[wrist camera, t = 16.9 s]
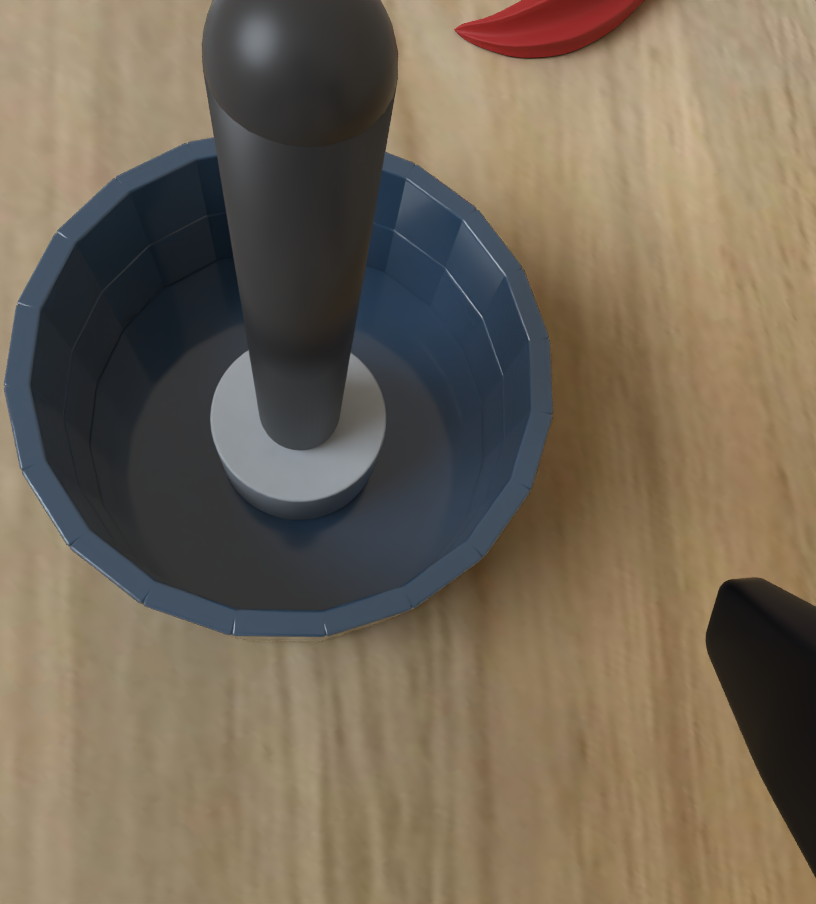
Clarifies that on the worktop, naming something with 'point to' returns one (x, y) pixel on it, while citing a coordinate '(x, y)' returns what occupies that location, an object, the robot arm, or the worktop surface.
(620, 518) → the worktop surface
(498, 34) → the cayenne pepper
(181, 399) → the bowl
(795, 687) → the robot arm
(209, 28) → the joystick
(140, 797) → the worktop surface
